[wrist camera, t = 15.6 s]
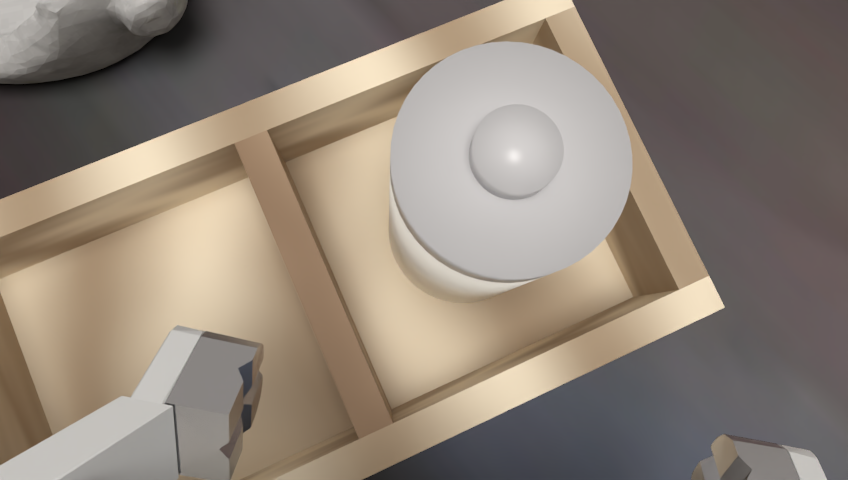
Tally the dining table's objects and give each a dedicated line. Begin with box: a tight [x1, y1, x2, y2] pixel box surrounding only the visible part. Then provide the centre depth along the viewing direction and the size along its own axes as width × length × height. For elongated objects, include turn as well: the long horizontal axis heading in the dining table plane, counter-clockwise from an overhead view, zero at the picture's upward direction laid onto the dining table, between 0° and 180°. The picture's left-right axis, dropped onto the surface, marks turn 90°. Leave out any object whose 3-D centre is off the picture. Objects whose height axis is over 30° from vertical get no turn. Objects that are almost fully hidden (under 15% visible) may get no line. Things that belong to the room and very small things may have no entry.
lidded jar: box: [389, 41, 632, 303], centre depth 17 cm, size 5×5×10 cm
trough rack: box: [0, 0, 725, 480], centre depth 20 cm, size 21×11×4 cm, turn 114°
